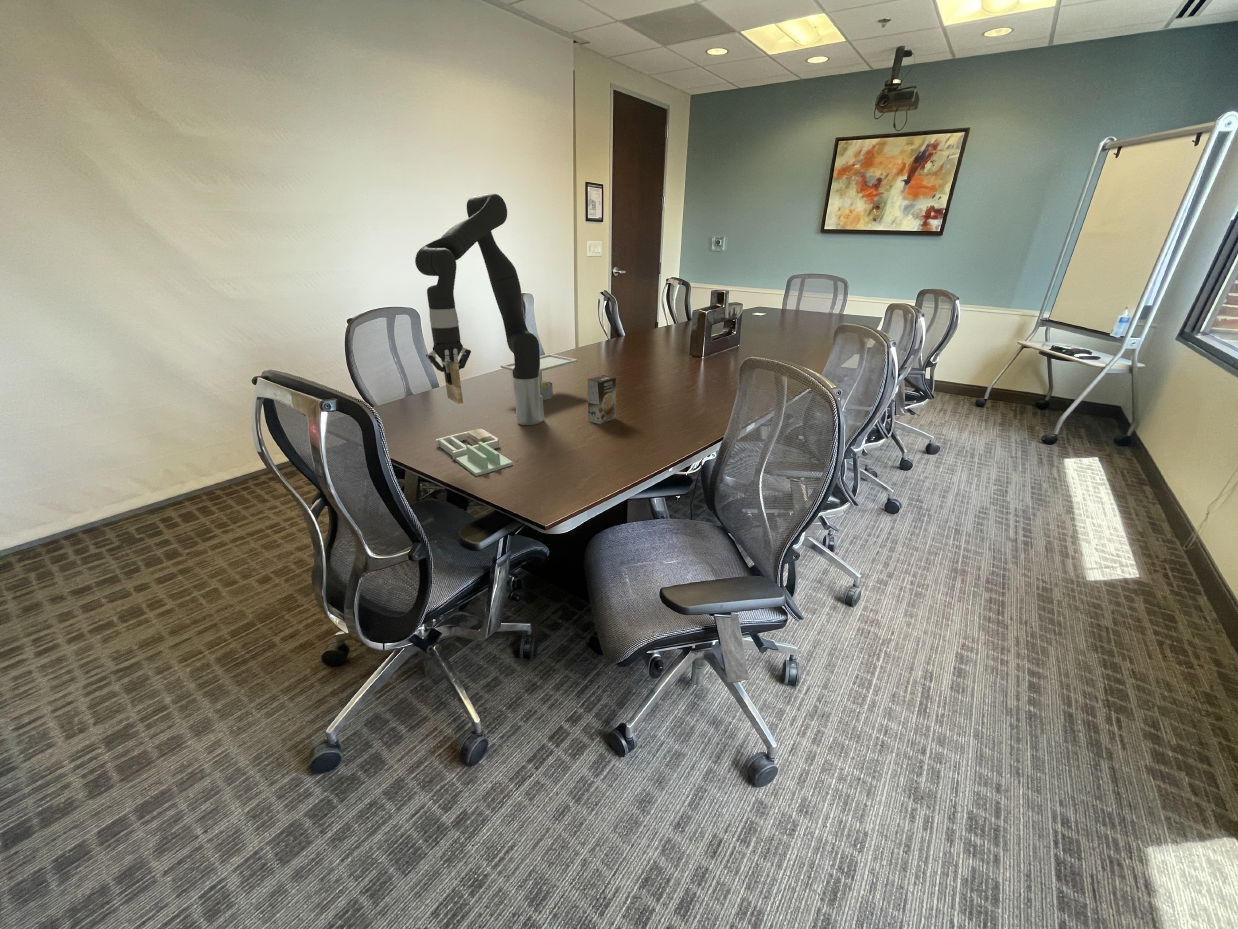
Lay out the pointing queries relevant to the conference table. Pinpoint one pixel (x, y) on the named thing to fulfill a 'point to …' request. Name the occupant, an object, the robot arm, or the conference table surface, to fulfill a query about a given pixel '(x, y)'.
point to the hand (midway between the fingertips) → (453, 383)
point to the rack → (462, 450)
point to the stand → (483, 460)
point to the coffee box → (601, 399)
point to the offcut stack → (478, 437)
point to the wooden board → (454, 384)
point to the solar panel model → (545, 364)
